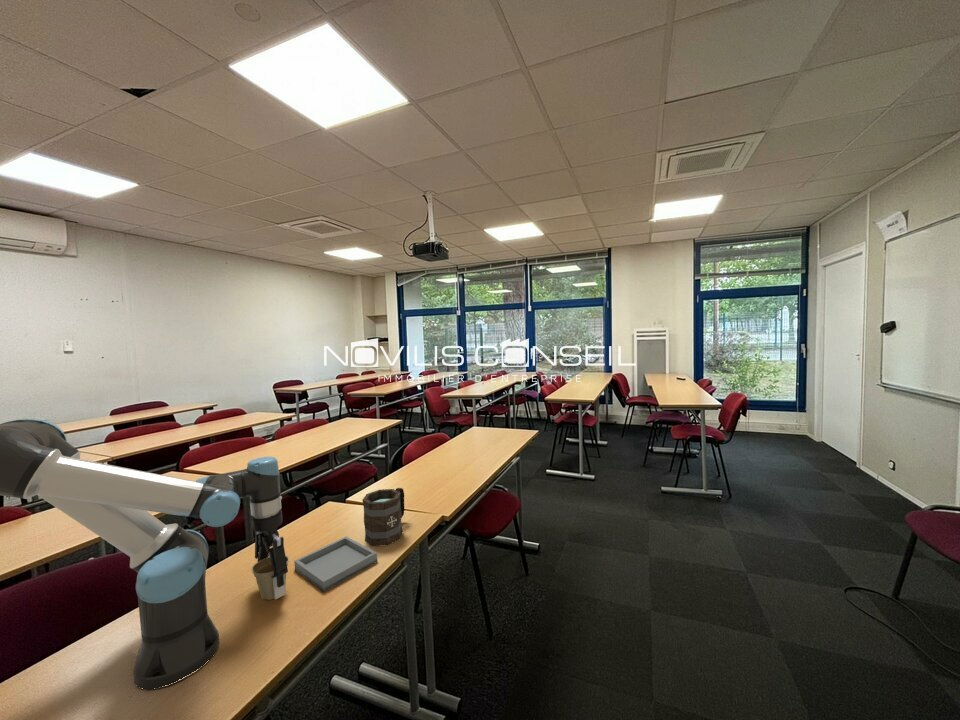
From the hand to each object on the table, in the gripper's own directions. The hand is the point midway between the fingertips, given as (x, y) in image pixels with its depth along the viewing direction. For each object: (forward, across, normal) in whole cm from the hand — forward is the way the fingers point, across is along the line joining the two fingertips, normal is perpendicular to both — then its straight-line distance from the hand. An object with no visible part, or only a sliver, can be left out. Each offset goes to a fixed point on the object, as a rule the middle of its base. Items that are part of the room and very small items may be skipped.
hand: (272, 589), depth 108 cm
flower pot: (+1, 0, 0) cm, 1 cm away
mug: (+1, 0, -41) cm, 41 cm away
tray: (+1, -3, -18) cm, 18 cm away
